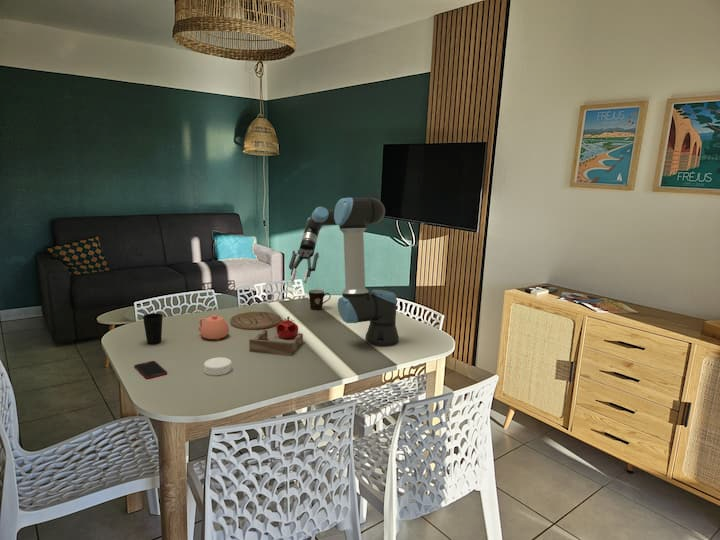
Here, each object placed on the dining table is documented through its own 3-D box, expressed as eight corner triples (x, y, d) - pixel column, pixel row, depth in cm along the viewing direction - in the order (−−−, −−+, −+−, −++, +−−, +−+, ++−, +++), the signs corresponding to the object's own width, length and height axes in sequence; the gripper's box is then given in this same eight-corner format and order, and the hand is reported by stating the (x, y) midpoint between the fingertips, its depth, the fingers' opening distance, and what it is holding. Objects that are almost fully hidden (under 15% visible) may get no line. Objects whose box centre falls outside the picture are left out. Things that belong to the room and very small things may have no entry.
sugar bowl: (220, 342, 208) (220, 320, 206) (191, 339, 210) (190, 317, 208) (233, 334, 219) (233, 312, 217) (206, 331, 222) (205, 310, 220)
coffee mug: (306, 310, 260) (306, 292, 258) (310, 306, 269) (311, 288, 267) (327, 311, 258) (327, 294, 256) (330, 307, 267) (331, 290, 265)
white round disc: (205, 377, 173) (205, 368, 172) (202, 367, 182) (202, 358, 181) (233, 374, 177) (233, 365, 176) (229, 364, 186) (229, 355, 185)
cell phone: (146, 380, 169) (146, 378, 169) (133, 367, 180) (133, 365, 180) (168, 375, 174) (168, 372, 174) (154, 362, 185) (154, 360, 185)
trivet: (270, 312, 255) (270, 309, 254) (288, 326, 234) (288, 322, 233) (224, 318, 242) (223, 315, 241) (238, 333, 221) (238, 329, 220)
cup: (166, 342, 206) (165, 316, 203) (149, 346, 200) (147, 319, 198) (159, 338, 211) (157, 312, 208) (141, 342, 205) (139, 315, 203)
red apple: (278, 332, 223) (278, 313, 222) (299, 333, 223) (299, 314, 221) (274, 339, 214) (274, 319, 212) (296, 340, 213) (296, 320, 212)
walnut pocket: (264, 338, 215) (264, 327, 214) (302, 342, 212) (302, 331, 211) (249, 351, 199) (249, 340, 198) (290, 355, 196) (290, 344, 195)
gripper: (327, 248, 244) (318, 286, 231) (292, 246, 247) (281, 284, 234) (325, 239, 237) (315, 278, 225) (289, 237, 241) (278, 275, 228)
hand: (298, 281), depth 230 cm, fingers open, 6 cm apart
